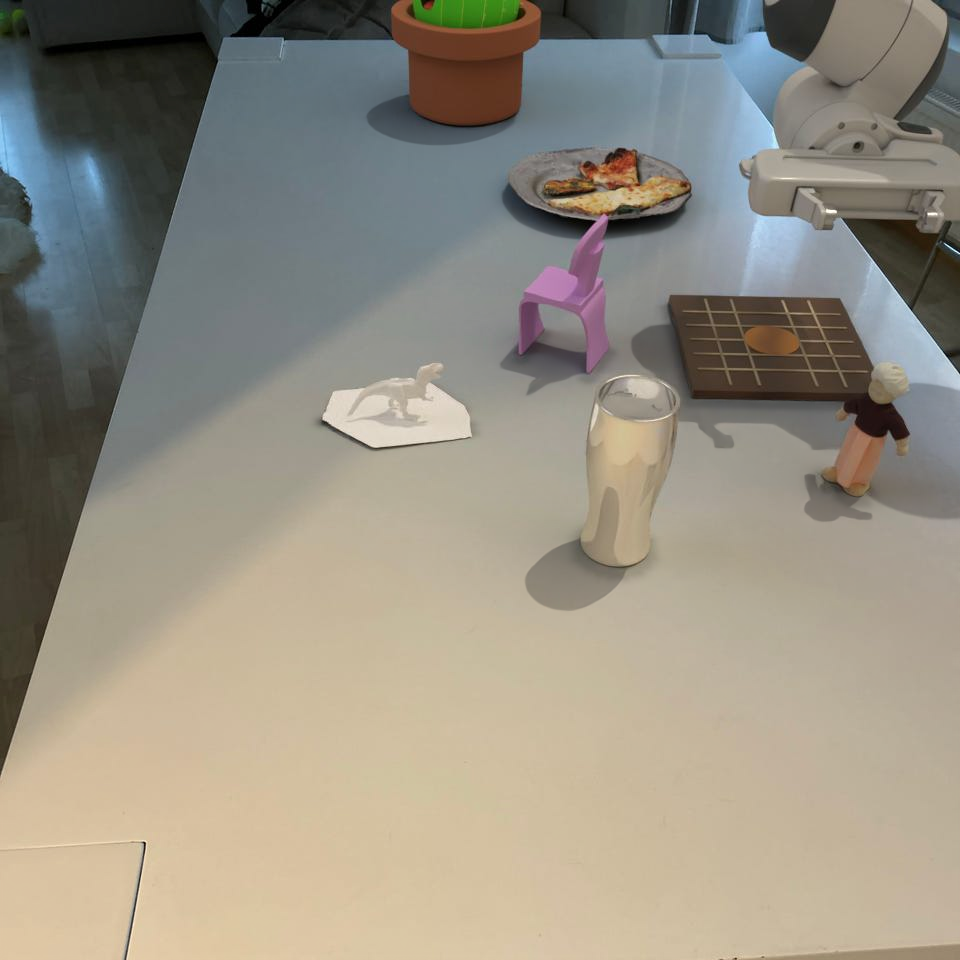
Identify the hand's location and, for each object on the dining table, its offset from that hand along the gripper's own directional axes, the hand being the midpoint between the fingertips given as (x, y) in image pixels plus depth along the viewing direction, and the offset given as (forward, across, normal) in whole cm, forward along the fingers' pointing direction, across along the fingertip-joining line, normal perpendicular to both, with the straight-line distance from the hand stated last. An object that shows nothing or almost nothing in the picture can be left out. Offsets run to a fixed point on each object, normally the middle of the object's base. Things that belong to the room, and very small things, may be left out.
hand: (880, 223), depth 86 cm
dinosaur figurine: (+2, -43, +20) cm, 47 cm away
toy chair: (-11, -26, +20) cm, 34 cm away
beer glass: (+21, -23, +20) cm, 37 cm away
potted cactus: (-84, -38, +20) cm, 94 cm away
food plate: (-51, -19, +20) cm, 58 cm away
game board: (-12, -3, +19) cm, 23 cm away
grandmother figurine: (+12, 0, +20) cm, 23 cm away
